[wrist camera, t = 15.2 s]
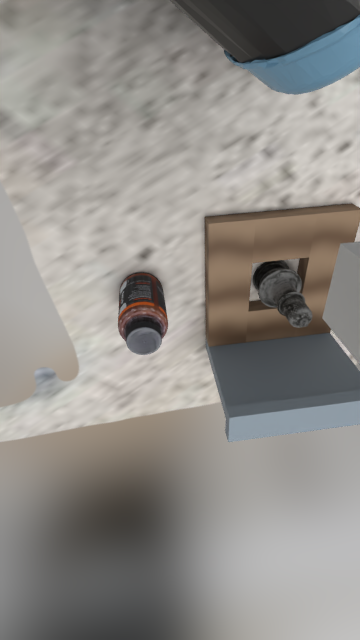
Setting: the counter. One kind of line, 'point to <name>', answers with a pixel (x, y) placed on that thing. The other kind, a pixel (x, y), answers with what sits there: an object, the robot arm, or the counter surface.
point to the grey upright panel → (285, 386)
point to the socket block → (262, 246)
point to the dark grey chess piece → (282, 292)
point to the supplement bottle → (142, 313)
